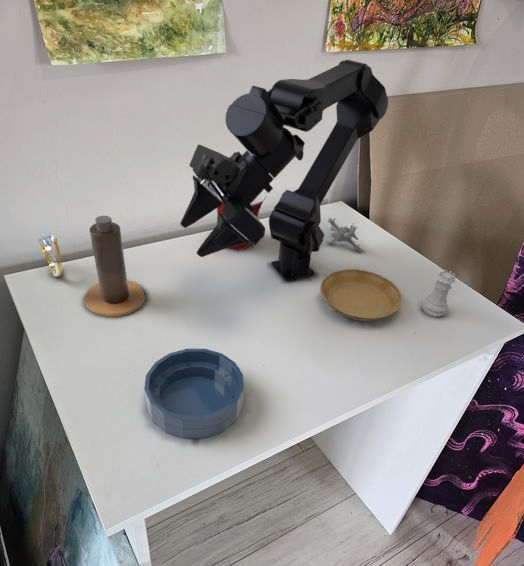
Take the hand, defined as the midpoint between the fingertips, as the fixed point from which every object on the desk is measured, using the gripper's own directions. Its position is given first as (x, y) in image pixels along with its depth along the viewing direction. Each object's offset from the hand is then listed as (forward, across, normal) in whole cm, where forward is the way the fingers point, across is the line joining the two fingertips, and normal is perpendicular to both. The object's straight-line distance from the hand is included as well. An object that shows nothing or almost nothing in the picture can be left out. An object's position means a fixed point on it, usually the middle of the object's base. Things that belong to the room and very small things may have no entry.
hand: (190, 240), depth 77 cm
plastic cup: (-1, -18, +20) cm, 27 cm away
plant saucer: (-11, +8, +30) cm, 33 cm away
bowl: (+13, +22, +5) cm, 26 cm away
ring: (+24, -16, -6) cm, 30 cm away
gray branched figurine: (-16, -12, +34) cm, 40 cm away
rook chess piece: (-20, +14, +39) cm, 46 cm away
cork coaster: (+18, -6, +1) cm, 19 cm away
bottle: (+17, -6, 0) cm, 18 cm away
